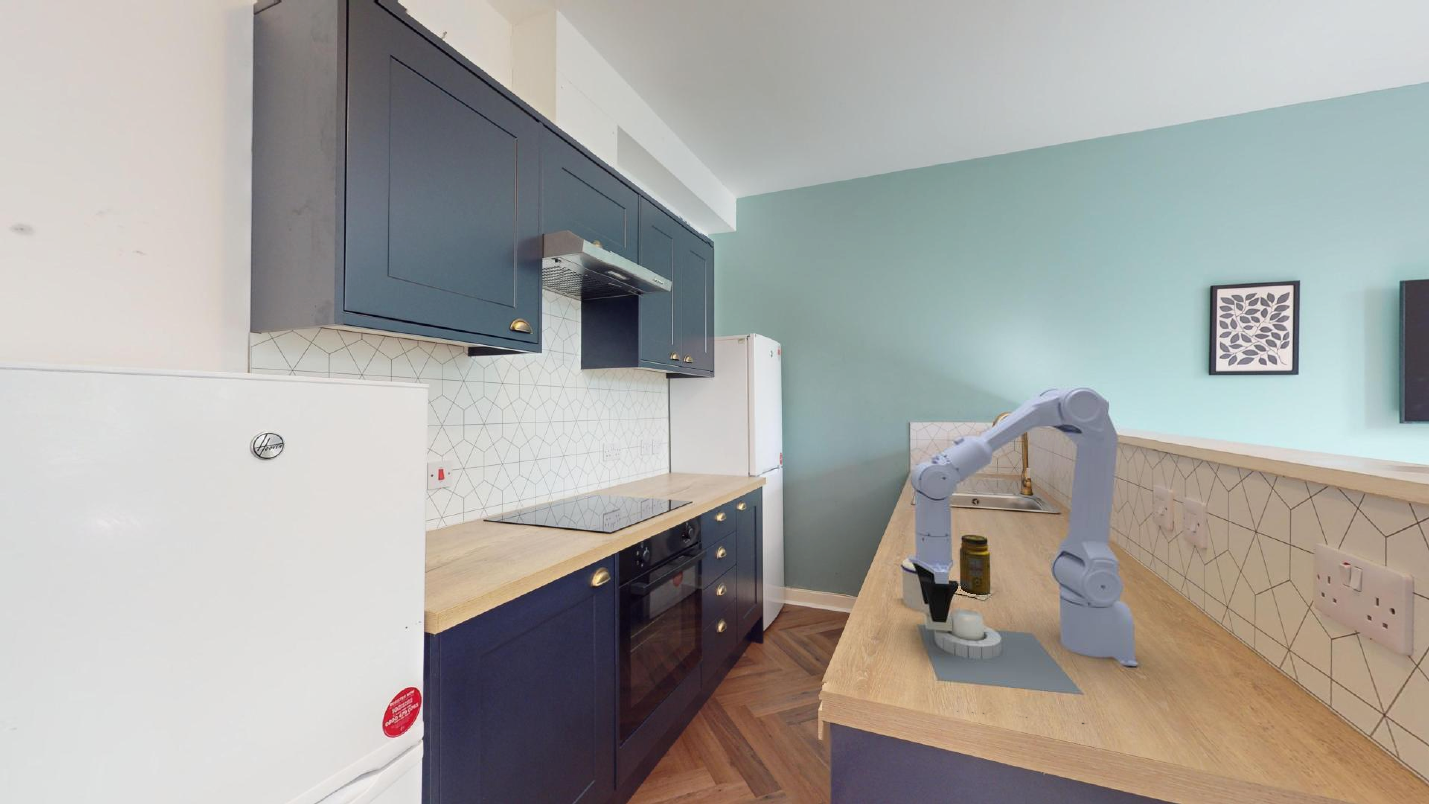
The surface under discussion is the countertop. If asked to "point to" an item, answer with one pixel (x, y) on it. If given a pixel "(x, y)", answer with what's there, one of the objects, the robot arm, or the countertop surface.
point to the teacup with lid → (912, 588)
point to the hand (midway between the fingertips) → (934, 612)
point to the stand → (995, 661)
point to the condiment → (975, 566)
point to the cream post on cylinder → (960, 624)
